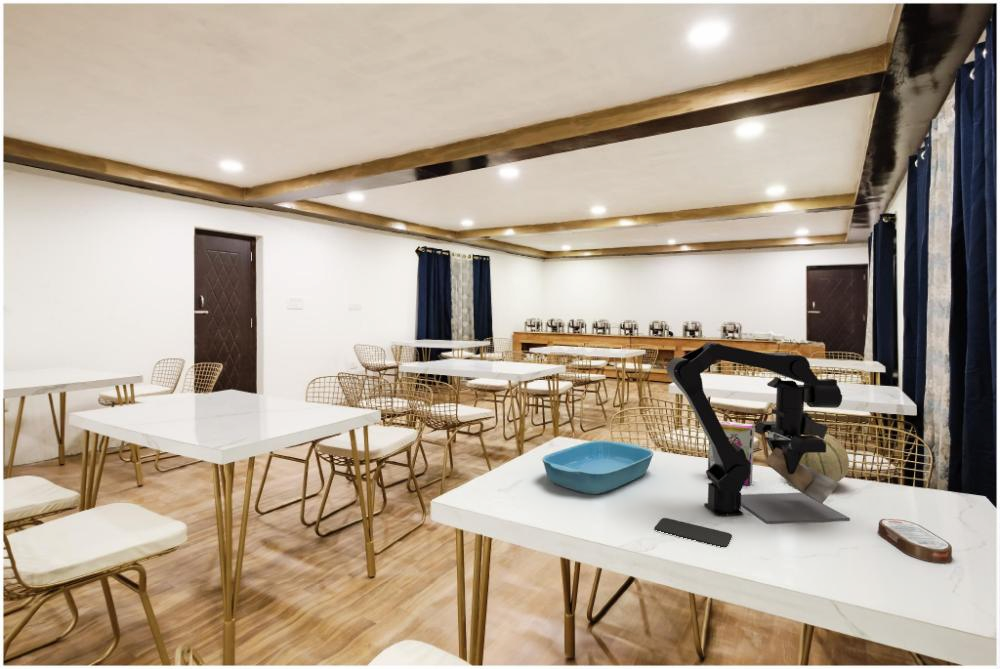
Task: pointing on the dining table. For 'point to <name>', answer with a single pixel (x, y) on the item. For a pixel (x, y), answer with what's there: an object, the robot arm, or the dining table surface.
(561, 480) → the casserole dish
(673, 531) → the phone
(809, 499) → the tool mat
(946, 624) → the dining table surface
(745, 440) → the candy bar box
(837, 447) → the cantaloupe
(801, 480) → the t-shaped pusher tool
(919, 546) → the tin
